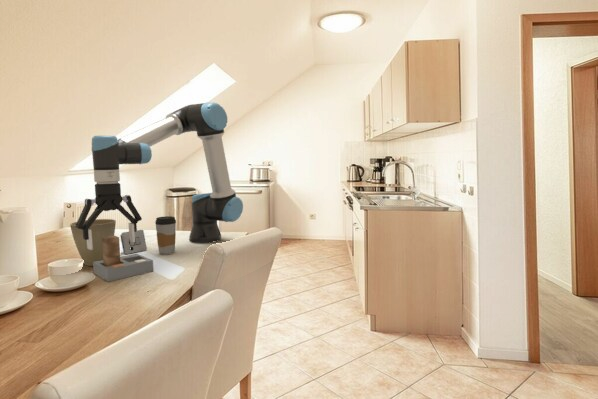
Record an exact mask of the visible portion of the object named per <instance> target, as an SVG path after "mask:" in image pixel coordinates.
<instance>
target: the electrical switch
mask: <svg viewBox="0 0 598 399" xmlns="http://www.w3.org/2000/svg"><path fill="white" fill-rule="evenodd" d="M134 233H135V242H131V241H130V240H129V231H124V232H121V234H120V235H119V236H120V241H121V245H122V252H123V254H124V255H132V254H137V253H140V252H145V251H147V249H148V248H147V243H146V238H145V232H144V230H143V229H137V231H136V232H134Z"/></svg>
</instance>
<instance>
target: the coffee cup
mask: <svg viewBox="0 0 598 399" xmlns="http://www.w3.org/2000/svg"><path fill="white" fill-rule="evenodd" d="M154 223H155V230H156V240H157V242H156V243H157V249H158V252H159V254H160V255H171V254H174V253H175V251H176V250H175V249H176V234H177V232H176V225H177V220H176V217H175V216H170V215H169V216H167V215H166V216H159V217H156V218H155V222H154Z"/></svg>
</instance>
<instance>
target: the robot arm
mask: <svg viewBox="0 0 598 399" xmlns="http://www.w3.org/2000/svg"><path fill="white" fill-rule="evenodd" d="M227 124H228V115H227V112H226V110H225V109H224V107H222V105H221V104H219V103H218V102H204V103H195V104H192V103H191V104H187V105H185V106H183V107H181V108H179V109H177V110H175V111H173V112H170V113H169V114H167V115H165V117H164V118H163V119H161V120H159V121H156V122H154V123H152V124H150V125H147V126H145V127H143V128H141V129H139V130H137V131H134V132H131V133H130V134H127V135H125V136H123V137H121V138H119V139H118V138H117V136H115V135H94V136H93V137H92V138H91V152H92V153H91V154H92V165H93V177H94V178H93V181H94V183H95V184H94V191H95V192H94V194H95V198H85V199H84V206H83V208H82V209H81V210H82V211H81V212H80V215H79V217H78V219H77V221H76V222H77V223H76V226H75V227H76V228H78V229H82V230H83V238H84V239H85V240H87V249H89V250H93V245H92V233H91V229H89V227H90V226H91V225H92V224H93V222H94V221H95V220H96V219H98V218H99V216H100V215H101V214H102V212H103V211H104V212H109V211H116V210H118V211H119V212H120V213H121V214H122V215H123V216H124V217H125V218H126V219H127V220H128V221H129V222H128V232H129V240H130V241H131V242H135V233H134V232H136V231H137V230H138V229H137V223H138V222H139V221H142V216H141V215H140V213H139V211H138V210H137V208H136V207H135V205H134V203H133V202H132V201H133V200H132V196H131V195H127V194H126V195H124V196H122V194H121V193H122V190H121V183H120V181H121V177H120V174H121V173H120V165H143V164H148V163H150V162H151V160H152V156H153V155H152V152H153V151H152V149H151V147H152V146H154V145H156V144H159V143H160V142H162V141H164V140H166V139H168V138H170V137H172V136H175V135H176V136H180V135H182V134H185V133H189V132H196V134H197V135H196V137H197V138H199V139H200V140H201V141H202V147H203V153H204V155H205V156H204V158H205V162H206V166H207V172H208V176H209V181H210V185H211V191H212V192H208V193H198V194H193V195H192V197H191V201H192V202H191V214H192V226H191V230H190V233H189V236H188V237H189V242H191V243H195V244H207V243H209V242H210V243H214V242H213V241H216V242H218V241H217V240H219V241H221V240H222V234H221V231H220V227H219V225H218V221H220V222H225V223H228V222H229V223H234V222H236V221H237V220H239V218H241V215H242V214H243V212H244V204H243V201H242V199H241V198H240V197H237V195H236V194H237V193H236V190H234V189H233V188H232V186H231V182H230V181H231V179H230V174H229V168H228V164H227V158H226V153H225V148H224V142H223V135H224V134H225V130H224V129H225V128H226V127H227ZM122 202H124V203H125V204H126V206H127V208H128V209H129V211H130V212H131V213H129V211H128V210H127V209H125V207H124V206H122ZM94 204H95V205H97V206H96V207H95V208H94V211H93V212H92V213H91V214H90V213H89V212H90V210H91V208H92V206H93V205H94ZM89 214H90V215H89ZM88 215H89V217H88ZM87 217H88V218H87ZM85 220H87V221H86V222H85ZM84 222H85V223H84ZM83 224H84V225H83ZM220 239H221V240H220Z"/></svg>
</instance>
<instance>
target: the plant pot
mask: <svg viewBox="0 0 598 399" xmlns="http://www.w3.org/2000/svg"><path fill="white" fill-rule="evenodd" d="M87 220H88V219H86V220H85V222H86V221H87ZM85 222H84V223H85ZM76 223H77V221H73V222H70V223H69V226H70V229H71V234H72V237H73V242H74V243H75V244H74V245H75V246H76V249H77V251H78V254H79V255H80V258H81V260H82V259H83V260H84V262H83V263H84V266H88V267H93V262H95V261H101V260H103V247H102V237H108V236H115V234H116V232H115V231H116V223H117V222H116V219H112V218H111V219H110V218H99V219H98V218H96V220H95V221H94V222H93V224H92V225H91V226H90V227H89V229H91V233H92V245H93V250H89V249H87V240H85V239H84V238H83V230H82V229H78V228H76V227H75V226H76ZM83 225H84V224H83ZM83 260H82V261H83Z"/></svg>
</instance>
